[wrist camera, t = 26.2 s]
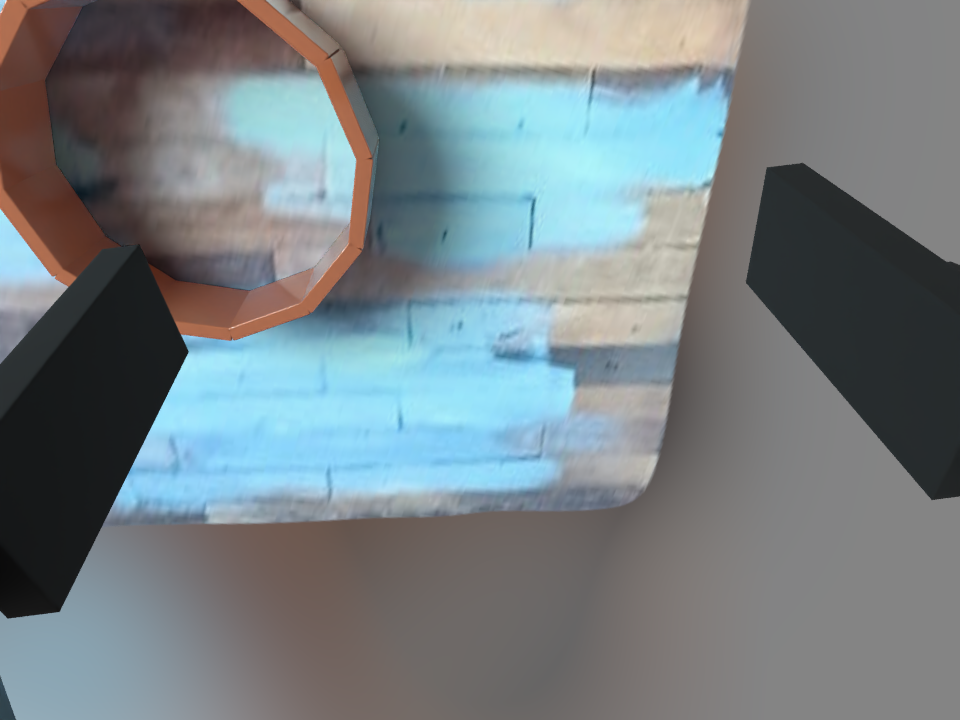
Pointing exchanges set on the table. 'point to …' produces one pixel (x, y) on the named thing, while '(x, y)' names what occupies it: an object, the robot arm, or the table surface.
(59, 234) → the faceted terracotta ring
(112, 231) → the table surface
